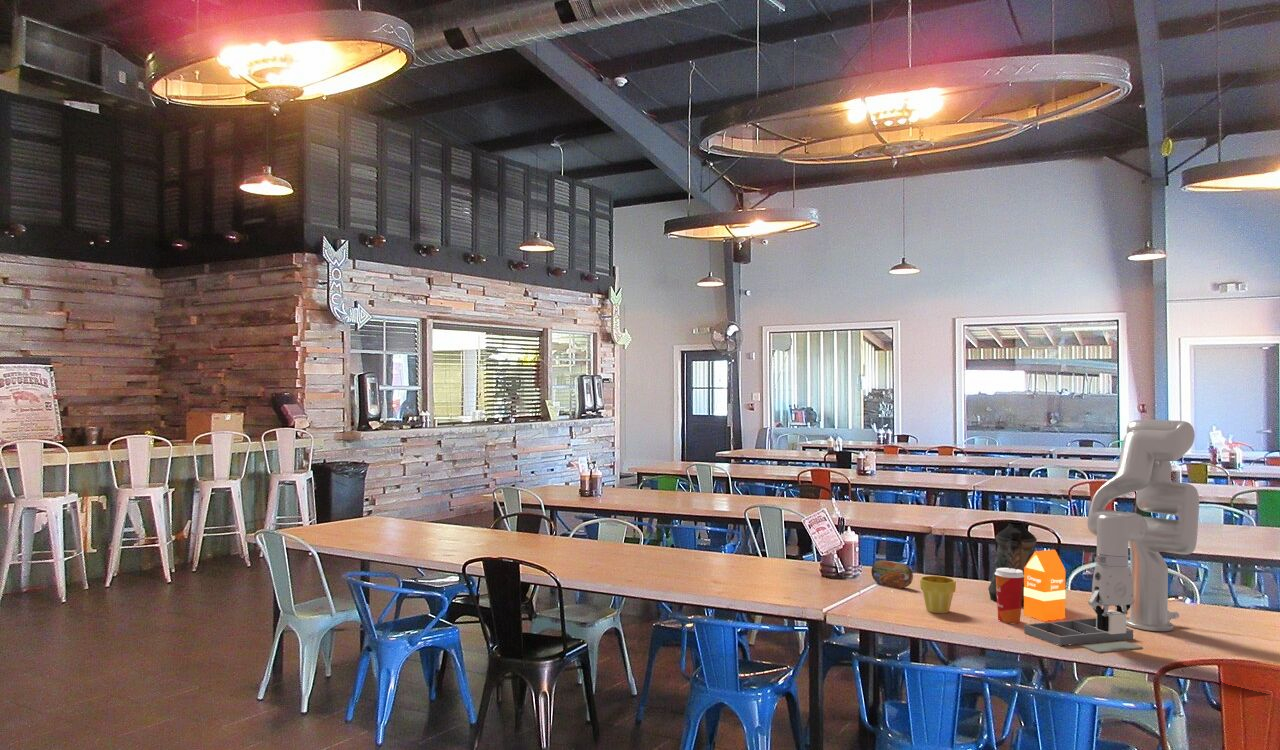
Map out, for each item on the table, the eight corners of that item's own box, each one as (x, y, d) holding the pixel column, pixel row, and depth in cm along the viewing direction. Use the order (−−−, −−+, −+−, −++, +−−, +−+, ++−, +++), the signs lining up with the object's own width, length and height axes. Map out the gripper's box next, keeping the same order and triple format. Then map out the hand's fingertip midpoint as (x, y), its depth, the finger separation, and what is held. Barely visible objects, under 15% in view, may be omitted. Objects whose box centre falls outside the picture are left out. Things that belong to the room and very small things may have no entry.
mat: (1123, 642, 248) (1123, 640, 248) (1142, 648, 242) (1142, 646, 242) (1080, 646, 243) (1080, 645, 243) (1098, 653, 237) (1098, 651, 237)
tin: (870, 582, 318) (871, 558, 318) (875, 581, 320) (876, 557, 320) (909, 590, 307) (909, 565, 307) (914, 589, 309) (914, 564, 309)
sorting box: (1094, 626, 263) (1095, 618, 263) (1133, 639, 251) (1133, 630, 251) (1024, 633, 255) (1024, 624, 255) (1060, 646, 243) (1060, 637, 243)
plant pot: (925, 614, 274) (926, 582, 274) (915, 606, 284) (916, 575, 284) (960, 615, 274) (960, 583, 274) (948, 607, 284) (949, 575, 284)
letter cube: (1126, 633, 241) (1126, 613, 241) (1111, 634, 239) (1111, 615, 239) (1110, 628, 245) (1110, 609, 245) (1096, 629, 244) (1096, 610, 244)
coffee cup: (999, 615, 274) (999, 566, 274) (1027, 620, 269) (1028, 570, 269) (989, 621, 268) (990, 570, 268) (1018, 626, 262) (1019, 574, 262)
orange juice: (1023, 615, 275) (1023, 549, 276) (1044, 612, 279) (1044, 547, 279) (1044, 621, 268) (1045, 553, 268) (1065, 618, 272) (1066, 551, 272)
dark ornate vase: (1029, 594, 303) (1030, 519, 303) (1057, 609, 283) (1058, 529, 283) (980, 594, 302) (981, 519, 302) (1005, 609, 283) (1006, 528, 283)
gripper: (1098, 564, 236) (1097, 635, 236) (1148, 562, 242) (1147, 631, 241) (1076, 559, 243) (1074, 627, 243) (1125, 557, 249) (1124, 624, 248)
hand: (1111, 628), depth 242 cm, fingers closed on letter cube, 5 cm apart
